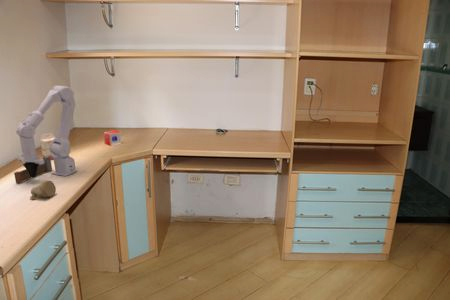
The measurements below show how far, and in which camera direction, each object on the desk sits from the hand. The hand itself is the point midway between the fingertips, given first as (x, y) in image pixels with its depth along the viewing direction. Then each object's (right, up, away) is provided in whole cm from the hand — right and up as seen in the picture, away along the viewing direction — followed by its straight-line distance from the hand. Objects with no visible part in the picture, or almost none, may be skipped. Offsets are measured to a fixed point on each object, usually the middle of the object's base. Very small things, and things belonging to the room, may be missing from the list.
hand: (33, 176), depth 174 cm
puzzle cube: (+19, +17, +64) cm, 68 cm away
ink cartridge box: (-7, +8, +34) cm, 36 cm away
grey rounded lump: (+13, -8, -17) cm, 23 cm away
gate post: (+1, +2, +14) cm, 14 cm away
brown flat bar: (-3, -1, +5) cm, 6 cm away
